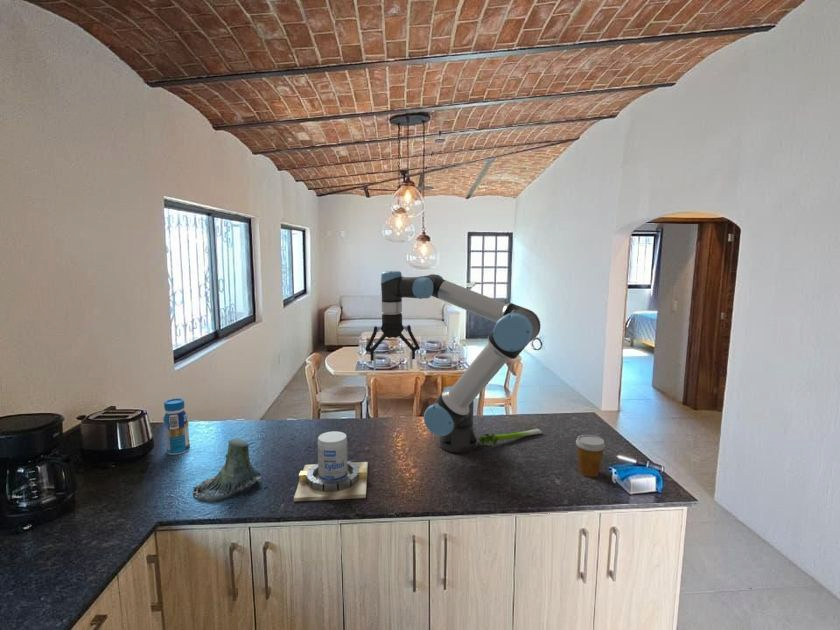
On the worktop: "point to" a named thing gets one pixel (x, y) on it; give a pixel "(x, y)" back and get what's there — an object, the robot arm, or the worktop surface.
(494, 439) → the leek
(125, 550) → the worktop surface
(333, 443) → the supplement tub
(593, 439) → the disposable coffee cup
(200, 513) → the worktop surface
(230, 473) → the tree stump
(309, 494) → the base plate
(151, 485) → the worktop surface
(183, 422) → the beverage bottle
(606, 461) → the worktop surface
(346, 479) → the ring
